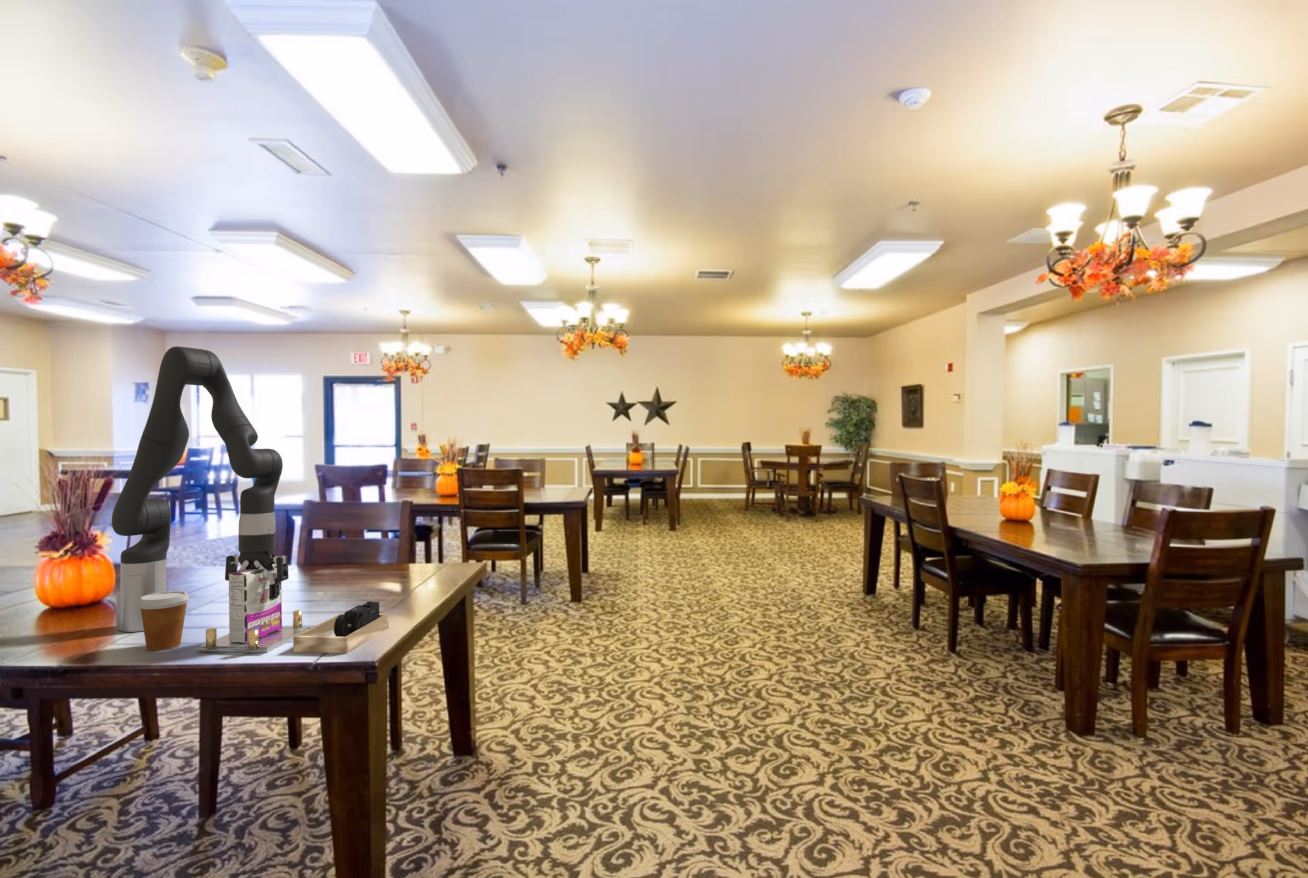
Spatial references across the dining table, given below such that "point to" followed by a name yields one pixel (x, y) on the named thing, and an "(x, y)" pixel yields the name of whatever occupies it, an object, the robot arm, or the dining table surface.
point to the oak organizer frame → (322, 643)
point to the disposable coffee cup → (163, 619)
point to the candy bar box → (252, 606)
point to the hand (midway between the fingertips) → (256, 598)
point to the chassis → (254, 639)
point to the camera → (356, 618)
